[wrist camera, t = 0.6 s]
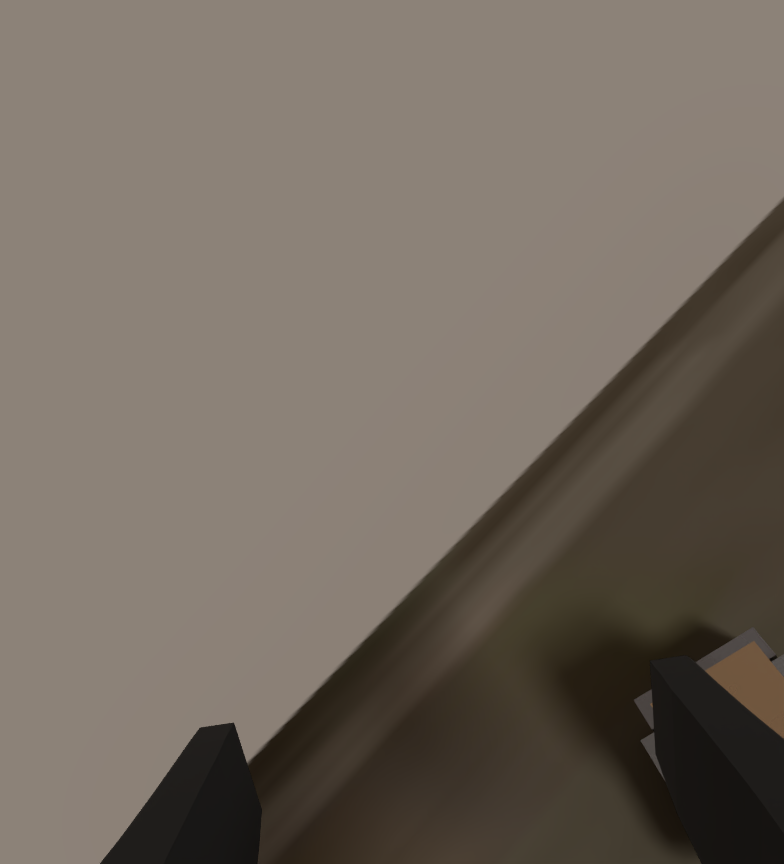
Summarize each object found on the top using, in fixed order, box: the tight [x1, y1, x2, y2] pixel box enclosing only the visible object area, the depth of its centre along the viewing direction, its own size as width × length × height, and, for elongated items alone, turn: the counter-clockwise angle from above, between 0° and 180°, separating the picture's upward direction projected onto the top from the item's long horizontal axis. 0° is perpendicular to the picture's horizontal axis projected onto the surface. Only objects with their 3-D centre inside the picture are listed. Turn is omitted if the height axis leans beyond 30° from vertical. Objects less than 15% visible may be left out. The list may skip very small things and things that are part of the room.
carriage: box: [641, 641, 784, 780], centre depth 23 cm, size 5×6×7 cm
